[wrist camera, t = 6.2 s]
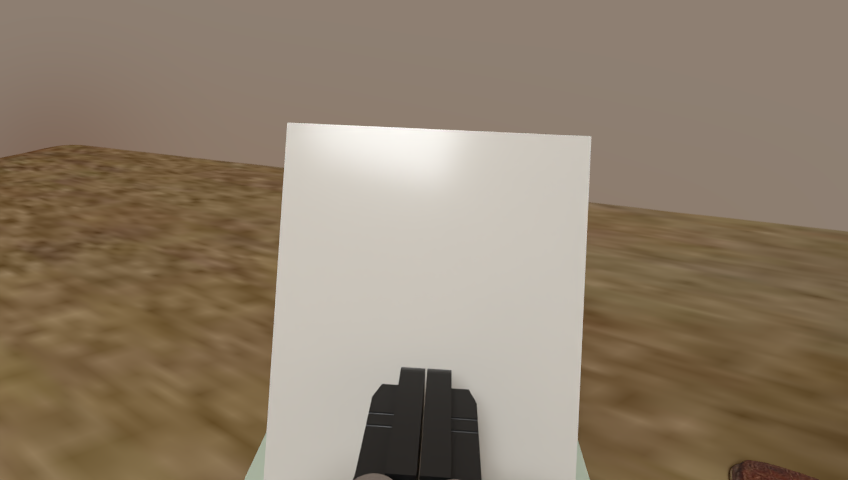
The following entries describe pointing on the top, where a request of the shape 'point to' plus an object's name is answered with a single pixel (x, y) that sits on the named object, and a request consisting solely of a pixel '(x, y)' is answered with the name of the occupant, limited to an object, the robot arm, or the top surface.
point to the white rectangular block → (429, 290)
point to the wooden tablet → (764, 472)
